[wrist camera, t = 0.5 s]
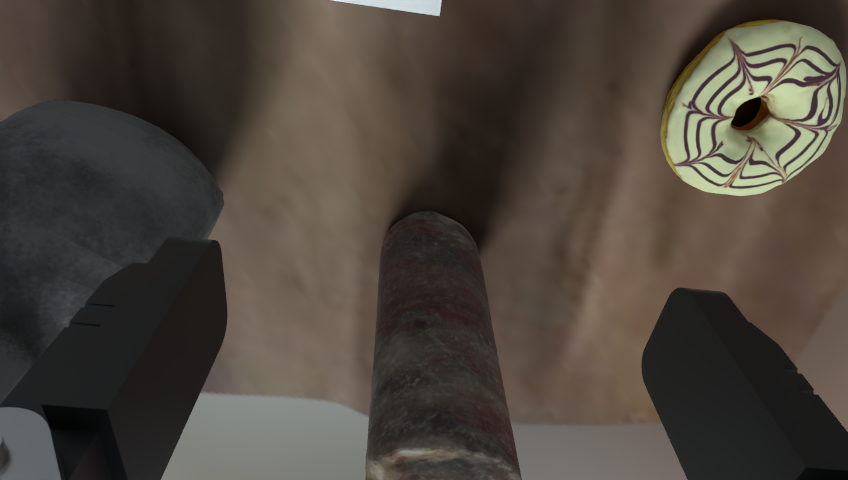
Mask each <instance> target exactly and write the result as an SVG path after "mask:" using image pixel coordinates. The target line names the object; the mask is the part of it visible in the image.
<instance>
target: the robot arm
mask: <svg viewBox="0 0 848 480" xmlns="http://www.w3.org/2000/svg"><path fill="white" fill-rule="evenodd" d="M226 325H227V302H226V292H225V282H224V273H223V263H222V253H221V248H220V245H219V243H218V241H216V240H207V239H197V238H187V237H176V236H170V237H168V238H167V239H166V240H165V241H164V242H163V243H162V245H161V246H160V247H159V249H158V250H157V251H156V253H155V254H154V255H153V257H152V258H151V259H150V261H149V262H148V263H147V264H146V263H135V262H133V263H131V264H129V265H128V266H126V267H125V268H123V269H121V270H120V271H118V272H116V273H115V274H113V275H112V276H110V277H108V278H107V279H105V280H104V281H103V282H102V283H101V284H100V286H99V287H98V288H97V289H96V290H95V292H94V293H93V294H92V295H91V296H90V298H89V299H88V300H87V301H86V302H85V307H84V308H82V307H81V308H80V310H79V311H78V312H77V313H76V314H75V316H74V317H73V318H72V319H71V320H70V322H69V326H68V327H65V328H64V329H63V330H62V331H61V332H60V334H59V335H58V336H57V337H56V338H55V340H54V341H53V342H52V343H51V344H50V345H49V347H48V348H47V349H46V350H45V351H44V353H43V354H42V355H41V356H40V357H39V359H38V360H37V361H36V362H35V363H34V365H33V366H32V367H31V368H30V369H29V371H28V372H27V373H26V374H25V375H24V377H23V378H22V379H21V380H20V381H19V383H18V384H17V385H16V386H15V387H14V389H13V390H12V391H11V392H10V393H9V395H8V396H7V397H6V398H5V399H4V401H3V402H2V403H1V404H0V480H161V478H162V476H163V473H164V471H165V469H166V467H167V465H168V462H169V460H170V458H171V456H172V453H173V451H174V449H175V447H176V445H177V443H178V440H179V438H180V436H181V434H182V431H183V429H184V427H185V425H186V423H187V420H188V418H189V416H190V414H191V412H192V409H193V407H194V405H195V403H196V401H197V398H198V396H199V394H200V392H201V390H202V387H203V385H204V383H205V381H206V378H207V376H208V374H209V372H210V370H211V367H212V365H213V363H214V361H215V359H216V356H217V354H218V352H219V350H220V348H221V345H222V342H223V339H224V336H225V331H226ZM642 376H643V380H644V383H645V386H646V388H647V390H648V393H649V395H650V397H651V399H652V401H653V404H654V406H655V408H656V410H657V413H658V415H659V417H660V419H661V421H662V424H663V426H664V428H665V430H666V432H667V435H668V437H669V439H670V442H671V444H672V446H673V448H674V450H675V453H676V455H677V457H678V459H679V462H680V464H681V466H682V468H683V470H684V472H685V475H686V477H687V479H688V480H848V432H847V431H846V430H845V428H844V427H843V426H842V425H841V423H840V422H839V421H838V419H837V418H836V417H835V416H834V414H833V413H832V412H831V411H830V409H829V408H828V407H827V406H826V404H825V403H824V402H823V401H822V399H821V398H820V397H819V395H815V394H814V393H813V390H814V389H813V388H812V386H811V385H810V384H809V383H808V381H807V380H806V379H805V378H804V376H803V375H802V374H798V373H797V368H796V366H795V365H794V364H793V362H792V361H791V360H790V358H789V357H788V356H787V355H786V353H785V352H784V351H783V350H782V348H781V347H780V346H779V345H778V344H777V343H776V342H775V341H773V340H772V339H771V338H770V337H768V336H767V335H766V334H765V333H763V332H762V331H761V330H760V329H758V328H757V327H756V326H754V325H753V324H752V323H749V322H748V321H747V320H746V318H745V317H744V316H743V314H742V313H741V312H740V311H739V309H738V308H737V307H736V305H735V304H734V303H733V301H732V300H731V299H730V297H729V296H728V295H727V294H725V293H723V292H720V291H710V290H699V289H689V288H677V289H675V290H674V291H673V292H672V293H671V294H670V296H669V298H668V300H667V302H666V304H665V306H664V308H663V310H662V312H661V315H660V317H659V319H658V321H657V323H656V325H655V327H654V330H653V332H652V334H651V336H650V338H649V340H648V342H647V345H646V347H645V349H644V352H643V356H642Z"/></svg>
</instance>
